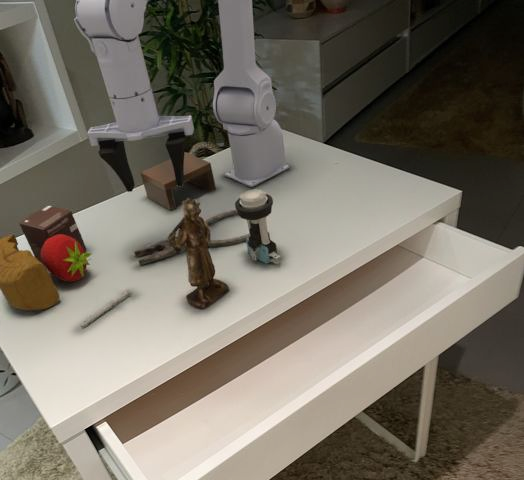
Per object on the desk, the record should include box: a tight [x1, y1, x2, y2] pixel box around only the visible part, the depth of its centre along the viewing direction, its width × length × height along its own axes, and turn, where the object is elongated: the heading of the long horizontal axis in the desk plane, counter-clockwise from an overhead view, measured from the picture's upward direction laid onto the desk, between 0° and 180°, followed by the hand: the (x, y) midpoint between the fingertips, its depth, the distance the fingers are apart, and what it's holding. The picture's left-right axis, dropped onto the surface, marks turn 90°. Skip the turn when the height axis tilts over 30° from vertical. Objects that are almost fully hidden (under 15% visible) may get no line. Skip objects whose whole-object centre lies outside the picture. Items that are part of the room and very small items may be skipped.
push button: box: [234, 188, 281, 265], centre depth 81 cm, size 7×5×10 cm
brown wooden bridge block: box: [140, 151, 216, 211], centre depth 102 cm, size 10×8×5 cm
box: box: [18, 205, 87, 264], centre depth 90 cm, size 6×6×7 cm
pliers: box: [133, 208, 250, 266], centre depth 89 cm, size 10×1×20 cm
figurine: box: [166, 197, 230, 310], centre depth 73 cm, size 7×4×15 cm, turn 137°
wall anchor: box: [79, 289, 132, 329], centre depth 79 cm, size 1×9×1 cm
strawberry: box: [41, 234, 93, 283], centre depth 84 cm, size 6×8×10 cm
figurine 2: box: [0, 233, 60, 312], centre depth 84 cm, size 7×7×15 cm
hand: (156, 186), depth 83 cm, fingers open, 7 cm apart
